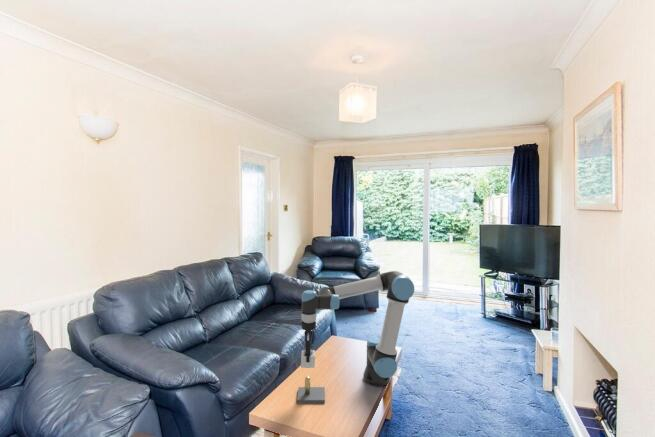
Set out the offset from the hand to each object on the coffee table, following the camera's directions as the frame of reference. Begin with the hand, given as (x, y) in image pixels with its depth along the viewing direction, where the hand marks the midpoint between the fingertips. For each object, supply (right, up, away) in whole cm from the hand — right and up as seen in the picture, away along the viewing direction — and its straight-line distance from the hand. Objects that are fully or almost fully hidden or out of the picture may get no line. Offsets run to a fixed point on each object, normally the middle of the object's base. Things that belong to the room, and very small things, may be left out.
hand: (308, 363), depth 178 cm
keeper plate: (+2, -17, +1) cm, 17 cm away
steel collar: (0, 0, 0) cm, 0 cm away
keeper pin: (0, -16, +1) cm, 16 cm away
